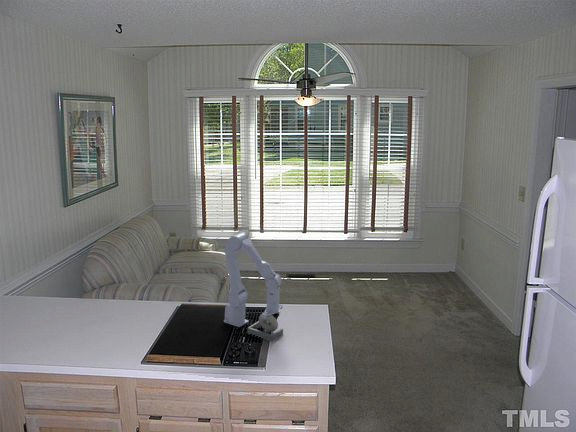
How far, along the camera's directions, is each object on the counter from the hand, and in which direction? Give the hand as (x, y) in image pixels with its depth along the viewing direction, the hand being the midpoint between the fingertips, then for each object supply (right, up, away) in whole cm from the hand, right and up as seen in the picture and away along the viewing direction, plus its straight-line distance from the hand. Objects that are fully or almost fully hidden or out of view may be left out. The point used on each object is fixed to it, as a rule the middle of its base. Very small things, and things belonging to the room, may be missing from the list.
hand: (271, 327), depth 239 cm
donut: (-1, -1, -1) cm, 2 cm away
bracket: (-3, -2, -4) cm, 5 cm away
